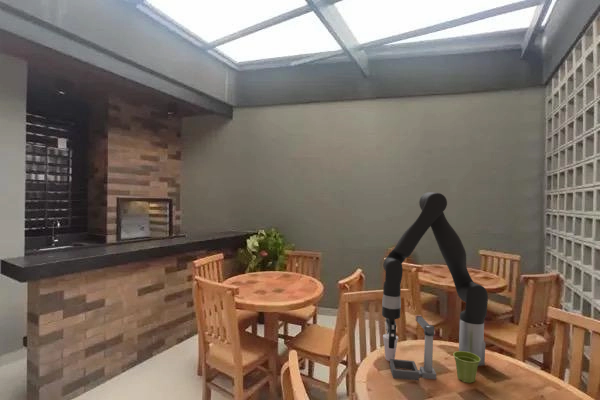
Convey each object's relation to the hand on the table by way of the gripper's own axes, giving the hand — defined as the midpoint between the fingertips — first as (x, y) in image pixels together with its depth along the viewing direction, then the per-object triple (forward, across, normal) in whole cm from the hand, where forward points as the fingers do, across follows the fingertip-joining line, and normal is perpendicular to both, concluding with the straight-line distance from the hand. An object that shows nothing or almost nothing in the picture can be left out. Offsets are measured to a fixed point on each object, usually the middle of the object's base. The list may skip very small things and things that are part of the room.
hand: (390, 343), depth 147 cm
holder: (+7, -11, -7) cm, 15 cm away
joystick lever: (-9, -5, -12) cm, 16 cm away
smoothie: (+7, 0, 0) cm, 7 cm away
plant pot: (+7, -11, -27) cm, 30 cm away
